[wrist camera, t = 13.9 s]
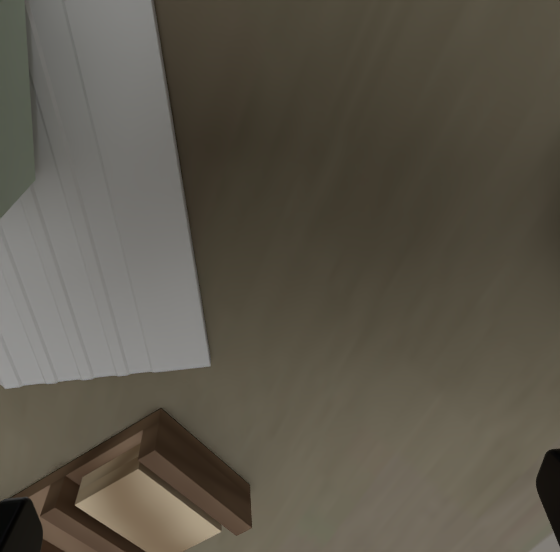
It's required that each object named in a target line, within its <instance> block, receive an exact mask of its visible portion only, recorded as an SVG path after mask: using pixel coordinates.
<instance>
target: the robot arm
mask: <svg viewBox="0 0 560 552" xmlns="http://www.w3.org/2000/svg"><path fill="white" fill-rule="evenodd" d="M536 487H537V491H538V494H539V497H540V499H541V502H542V504H543V507H544V509H545V512H546V514H547V517H548V519H549V521H550V524H551V526H552V529H553V531H554V534H555V536H556V539H557V541H558V544H559V546H560V449H551V450H549V451H547V452H546V454H545V456H544V459H543V462H542V464H541V467H540V470H539V472H538V475H537V478H536ZM42 541H43V527H42V524H41V521H40V519H39V517H38V514H37V512H36V509H35V507H34V504H33V502H32V500H31V499H30V498H28V497H18V498H8V499H4V500H3V501H1V502H0V552H41V547H42Z"/></svg>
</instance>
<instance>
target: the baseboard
mask: <svg viewBox="0 0 560 552" xmlns="http://www.w3.org/2000/svg"><path fill="white" fill-rule="evenodd" d="M24 2H25V18H26V34H27V50H28V66H29V82H30V98H31V114H32V130H33V146H34V162H35V178H36V180H35V181H34V182H33V183H32V184H31V186H30V187H29V188H28V189H27V190H26V191H25V192H24V193H23V194H22V195H21V197H20V198H19V199H18V200H17V201H16V202H15V203H14V204H13V205H12V207H11V208H10V209H9V210H8V211H7V212H6V213H5V214H4V215H3V216H2V218H1V219H0V385H2V386H3V387H4V388H5V389H7V388H17V387H21V386H23V385H32V384H41V383H46V384H53V383H57V382H60V381H69V380H78V379H81V380H90V379H93V378H96V377H105V376H115V375H116V376H126V375H129V374H133V373H142V372H153V373H154V372H163V371H172V370H182V369H191V368H200V367H209V366H211V357H210V350H209V344H208V338H207V332H206V325H205V319H204V313H203V307H202V300H201V294H200V288H199V282H198V275H197V269H196V263H195V256H194V250H193V244H192V238H191V231H190V225H189V219H188V213H187V206H186V200H185V194H184V188H183V181H182V175H181V169H180V162H179V156H178V150H177V144H176V137H175V131H174V125H173V119H172V112H171V106H170V100H169V94H168V87H167V81H166V75H165V68H164V62H163V56H162V50H161V43H160V37H159V31H158V25H157V18H156V12H155V6H154V0H24Z"/></svg>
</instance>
